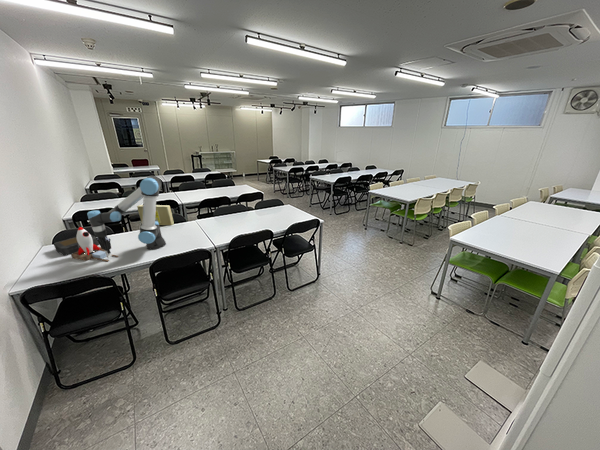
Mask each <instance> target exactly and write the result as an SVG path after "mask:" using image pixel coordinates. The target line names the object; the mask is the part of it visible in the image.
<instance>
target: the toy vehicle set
mask: <svg viewBox="0 0 600 450" xmlns="http://www.w3.org/2000/svg"><path fill="white" fill-rule="evenodd" d="M136 207H137V211H138V215H139V218H140V222H141V224H142V223H143V204H139V205H137V206H136ZM155 221H157V222H158V223H159V226H173V225H174V224H175V223H174V218H173V213H172V210H171V206H170V205H167V204H166V205H162V204H161V205H160V204H156V214H155Z"/></svg>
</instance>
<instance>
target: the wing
mask: <svg viewBox="0 0 600 450" xmlns="http://www.w3.org/2000/svg"><path fill="white" fill-rule="evenodd" d="M92 256H93V257H95V258H100V259H105V258H108V257H107V255H106V253H105V251H97V252H95V253H93V254H92Z"/></svg>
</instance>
